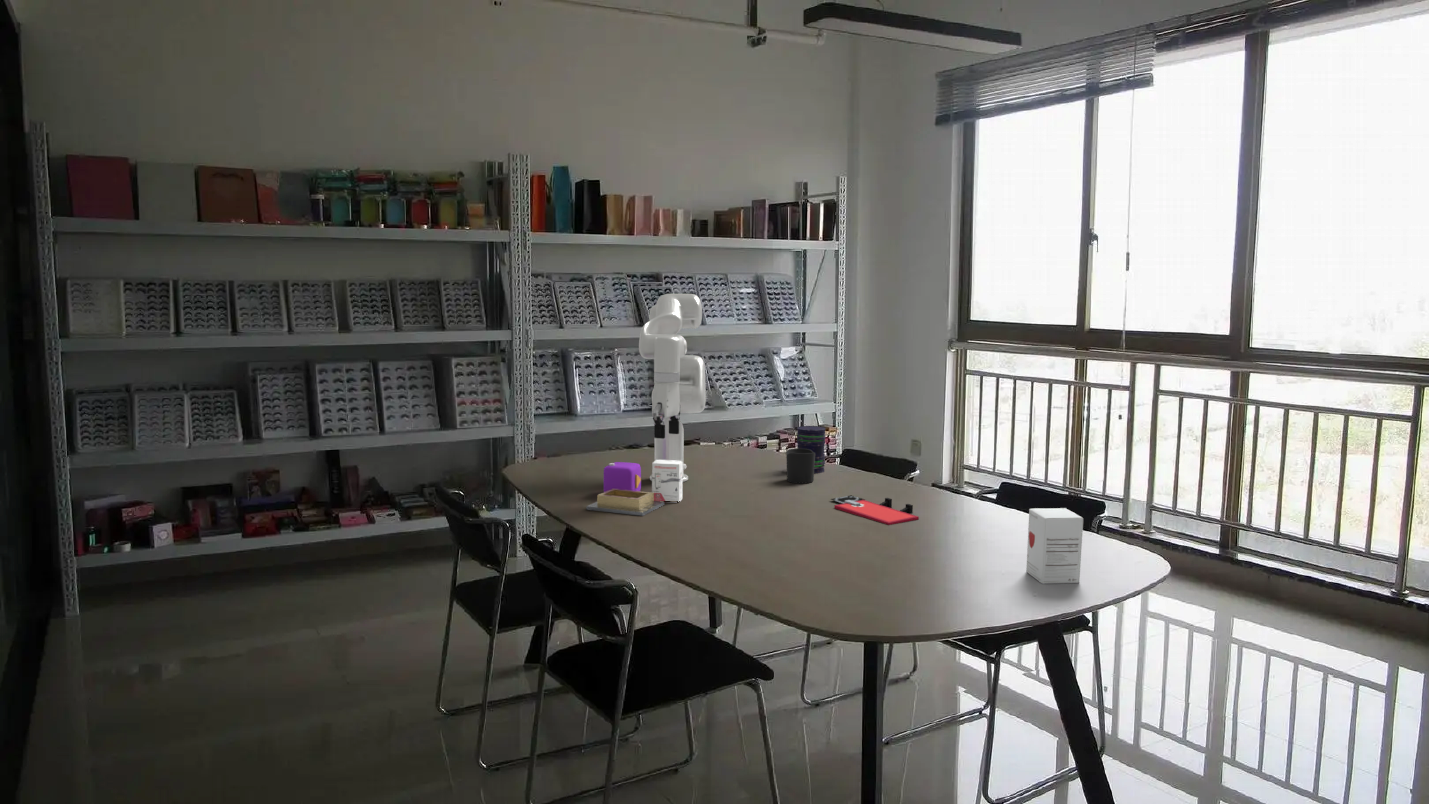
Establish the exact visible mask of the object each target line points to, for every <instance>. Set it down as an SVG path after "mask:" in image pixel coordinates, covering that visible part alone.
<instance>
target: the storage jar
mask: <svg viewBox="0 0 1429 804" xmlns="http://www.w3.org/2000/svg"><path fill="white" fill-rule="evenodd" d="M796 429H797V431H796V443H797V449H809V450H812V451H813V452H814V453H815V467H814V474H822V473H824V472H825V464H826V460H825V458H826V457H825V456H826V455H825V445H826V427H824V426H820V425H800V426H797V428H796Z"/></svg>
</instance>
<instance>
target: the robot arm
mask: <svg viewBox="0 0 1429 804" xmlns="http://www.w3.org/2000/svg"><path fill="white" fill-rule="evenodd" d="M701 301H702V300H701V299H700V297H699V296H698V295H697V294H694V293H666V294H662V295H660V296H659V298H658V299H657V301H656V304H655V305H652V306H651V308H650V309H649V312H648V313H649V315H648V316H649V317H648V318H649V320H648V321H647V322H645V323H644V325H643V326H642V327H641V329H640V332H639V341H638V351H639V355H640V356H641V357H642V358H643V359H645V360H653V371H654V373H653V375H654V376H653V377H654V378H653V381H654V382H653V385H654V386H653V389H652V392H651V403H652V404H651V405H652V407H651V415H652V419H653V425H654V427H653V429H654V430H653V431H654V433H653V434H654V435H653V436H654V438H653V439H654V441H653V442H654V444H653V445H654V461H655V460H677V461H682V462H683V483H684V482H687V481H688V480H689V476H688V475H687V474H686V473H684V470H686V469H687V467H688V466H687V464H686V463H684V449H685V448H684V446H685V445H684V444H685V443H684V439H685V437H684V436H685V435H684V433H685V432H684V431H685V430H684V425H683V423H682V421H681V419H680V418H681V417H680V415H681V414H699V413H702V412H703V411H704V410H705V408H706V402H707V401H706V399H707V397H706V396H707V395H706V394H707V393H706V391H707V390H706V389H707V388H706V366H705V362H704V359H703V358H702V357H701V356H700V355H694V354H691V355H689V354H687V352H688V343H687V340H686V339H685V338H684V336H682V335H681V334H678V333H679V332H680V331H681V330H695V329H698V328H699V327H700V326H701V323H702V321H703V320H702V319H703V305H702V302H701ZM649 480H650V482H652V474H650V475H649Z"/></svg>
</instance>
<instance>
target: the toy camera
mask: <svg viewBox="0 0 1429 804" xmlns="http://www.w3.org/2000/svg"><path fill="white" fill-rule="evenodd" d="M611 489H622V490H632V491H641V489H642V467H641V465H640V463H638V462H637V463H636V462H626V461H625V462H623V461H615V462H611V463H608V465H607V466H605V467H604V468H603V493H604V492H606V491H608V490H611Z"/></svg>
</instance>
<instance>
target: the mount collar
mask: <svg viewBox="0 0 1429 804" xmlns="http://www.w3.org/2000/svg"><path fill="white" fill-rule="evenodd" d="M596 498H597V500H596V501H595V502H593V503H591V504H588V505H586V506H585V507H586V509H585V510H586V511H595V512H596V511H597V512H605V513H613V514H623V515H632V516H641V517H644V516H645V515H648V514H650V513H652V512H654V511H655V509H656V510H657V509H659V507H660V508H662V507H664V506H665V502H660V501H654V493H652V491H651V492H649V491H641V490H640V491H632V490H622V489H611V490H608V491H606V492H604V491H603V492H601V493H598V494H597V497H596ZM663 505H664V506H663ZM661 506H662V507H661ZM653 510H654V511H653ZM651 511H652V512H651Z"/></svg>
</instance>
